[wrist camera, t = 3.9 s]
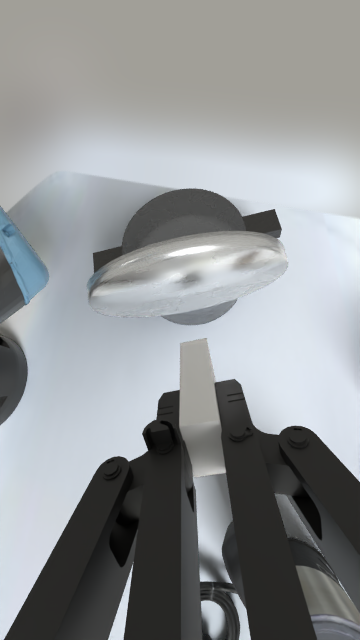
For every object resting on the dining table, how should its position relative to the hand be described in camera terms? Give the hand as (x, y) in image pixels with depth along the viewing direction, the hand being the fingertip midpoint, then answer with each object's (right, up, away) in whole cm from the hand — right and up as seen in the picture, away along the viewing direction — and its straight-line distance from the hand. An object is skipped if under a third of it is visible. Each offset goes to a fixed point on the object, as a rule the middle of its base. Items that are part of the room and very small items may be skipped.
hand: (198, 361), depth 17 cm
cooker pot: (+1, +9, +28) cm, 29 cm away
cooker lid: (-1, +6, +8) cm, 10 cm away
